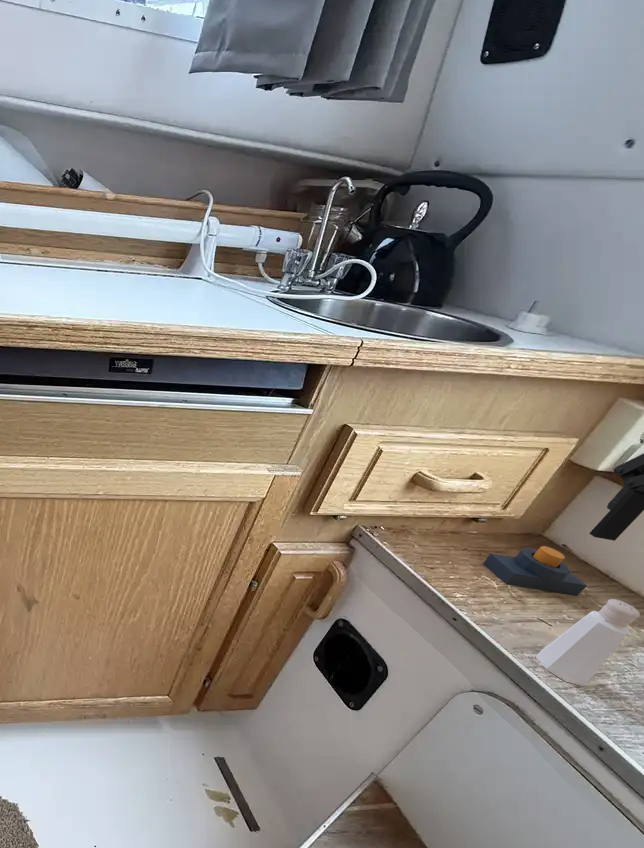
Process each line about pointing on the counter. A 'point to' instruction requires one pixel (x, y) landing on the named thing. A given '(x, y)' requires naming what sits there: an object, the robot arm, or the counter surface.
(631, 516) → the robot arm
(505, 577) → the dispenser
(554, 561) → the orange button cap
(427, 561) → the counter surface
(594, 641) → the salt shaker
